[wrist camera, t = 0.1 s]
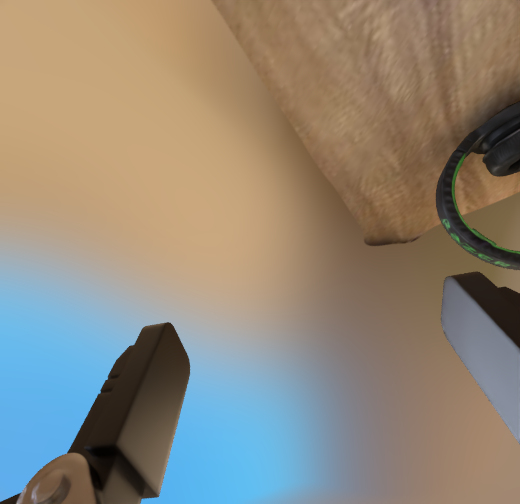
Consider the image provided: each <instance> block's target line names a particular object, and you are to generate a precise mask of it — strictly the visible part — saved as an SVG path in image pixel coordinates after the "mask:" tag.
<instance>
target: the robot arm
mask: <svg viewBox="0 0 520 504" xmlns="http://www.w3.org/2000/svg"><path fill="white" fill-rule="evenodd" d="M441 324H442V328H443V331H444V334H445V336H446V338H447V340H448V341H449V343H450V344H451V346H452V347H453V349H454V350H455V352H456V353H457V354H458V356H459V357H460V359H461V360H462V362H463V363H464V365H465V366H466V367H467V369H468V370H469V372H470V373H471V375H472V376H473V378H474V379H475V380H476V382H477V383H478V385H479V386H480V387H481V389H482V390H483V392H484V393H485V395H486V396H487V398H488V399H489V401H490V402H491V403H492V405H493V406H494V408H495V409H496V411H497V412H498V413H499V415H500V416H501V418H502V419H503V421H504V422H505V424H506V425H507V427H508V428H509V429H510V431H511V432H512V434H513V435H514V437H515V438H516V440H517V441H518V443H519V444H520V293H518V292H515V291H513V290H511V289H509V288H507V287H501V288H497V287H496V286H495V285H494V284H493V283H492V282H491V281H490V280H489V279H488V278H486V277H485V276H484V275H483V274H482V273H480V272H471V273H465V274H459V275H453V276H448V277H446V278H445V280H444V286H443V299H442V312H441ZM189 376H190V363H189V358H188V355H187V353H186V351H185V349H184V347H183V345H182V343H181V341H180V339H179V337H178V334H177V332H176V330H175V328H174V326H173V325H172V324H171V323H169V322H167V323H162V324H156V325H150V326H145V327H144V328H143V329H142V330H141V332H140V334H139V336H138V339H137V341H136V343H135V345H133V346H129V347H128V348H127V350H125V352H124V353H123V354H122V355H121V356H120V357H119V358H118V359H117V360H116V362H115V364H114V366H113V368H112V369H111V371H110V373H109V375H108V380H106V381H105V383H104V385H103V387H102V389H101V393H100V394H98V396H97V398H96V400H95V402H94V404H93V406H92V407H91V410H90V411H89V413H88V415H87V417H86V419H85V421H84V423H83V425H82V426H81V428H80V430H79V432H78V434H77V436H76V438H75V440H74V442H73V444H72V445H71V447H70V449H69V451H68V452H67V454H65V455H62V456H59V457H57V458H55V459H54V460H52V461H51V462H49V463H48V464H46V465H45V466H44V467H43V468H42V469H40V470H39V471H38V472H37V473H36V474H35V476H34V477H33V478H32V479H31V480H30V481H29V483H28V484H27V485H26V487H25V488H24V490H23V491H22V492H21V493H20V494H17V495H15V496H13V497H11V498H8V499H6V500H4V501H2V502H0V504H140V503H141V499H143V498H154V497H159V494H160V490H161V486H162V483H163V479H164V475H165V471H166V467H167V463H168V459H169V455H170V451H171V447H172V443H173V439H174V435H175V431H176V427H177V424H178V419H179V415H180V411H181V408H182V404H183V400H184V396H185V392H186V388H187V384H188V380H189Z"/></svg>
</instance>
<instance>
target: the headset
mask: <svg viewBox="0 0 520 504" xmlns="http://www.w3.org/2000/svg"><path fill="white" fill-rule="evenodd" d="M471 152H474V153H476V154H485V156H484V157H483V159H482V160H483V163H485V164H486V167H487V169H488V171H489V172H490V173H491V174H492V175H493V176H498V177H499V176H507V175H511V174H514V173H517V172H519V171H520V101H519V102H517V103H515V104H512V105H510V106H508V107H507V108H505V109H503V110H502V111H500V112H499V113H498V114H497V115H495V116H494V117H492V118H491V119H490V120H488V121H487V122H486V123H484V124H483V125H482V126H480V127H479V128H477V129H476V130H474V131H473V132H471V133H470V134H469V135H468V136H467V137H466V138H465V139H464V140H463V141H462V143H461V144H460V145H459V146H458V147H457V149H456V150H455V151H454V152H453V153H452V155H451V157H450V158H449V160H448V162H447V164H446V166H445V168H444V169H443V171H442V173H441V176H440V178H439V181H438V184H437V189H436V207H437V212H438V216H439V218H440V221H441V223H442V224H443V226H444V228H445V229H446V231H447V232H448V234H449V235H450V236H451V237H452V239H453V240H455V241H456V243H457V244H458V245H460V246H461V247H462V248H463V249H464V250H466V251H467V252H469V253H470V254H472V255H473V256H475V257H477V258H479V259H481V260H483V261H485V262H488V263H490V264H493V265H496V266H499V267H503V268H507V269H514V270H520V252H519V251H513V250H508V249H504V248H501V247H498V246H496V243H494V242H493V241H491V240H489V239H488V238H486V237H484V236H483V235H482V234H480V233H479V232H478V231H476V230H475V229H471V228H470V227H469V226H468V225H467V224H466V223H465V221H464V220H463V218H462V216H461V214H460V212H459V210H458V207H457V204H456V200H455V180H456V176H457V173H458V171H459V169H460V167H461V165H462V163H463V161H464V159H465V157H467V156H468V155H469V154H470V153H471Z"/></svg>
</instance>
